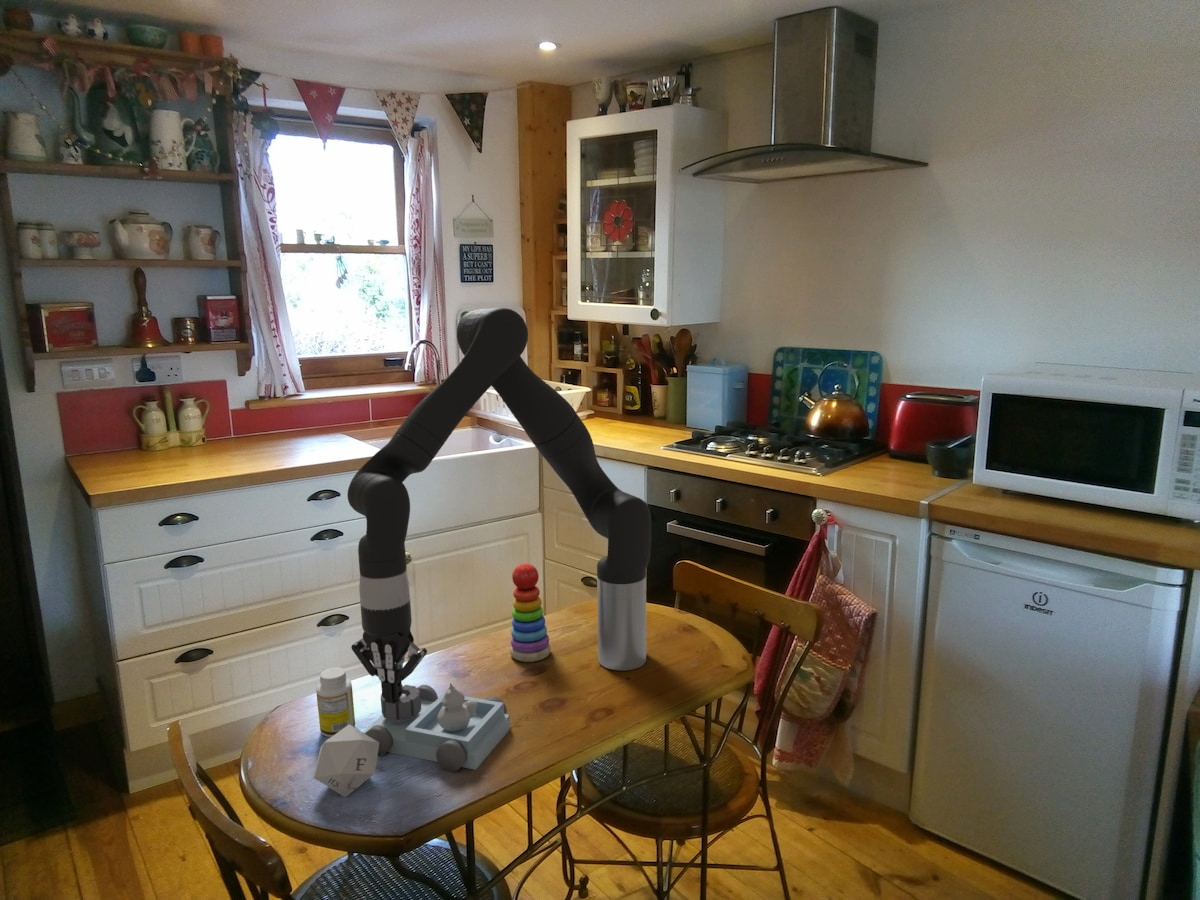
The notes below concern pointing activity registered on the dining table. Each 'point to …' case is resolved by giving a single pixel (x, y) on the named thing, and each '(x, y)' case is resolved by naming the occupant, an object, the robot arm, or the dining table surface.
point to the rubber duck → (455, 710)
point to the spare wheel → (403, 705)
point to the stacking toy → (528, 617)
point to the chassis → (443, 733)
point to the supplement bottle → (334, 701)
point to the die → (346, 760)
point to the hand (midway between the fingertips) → (392, 700)
